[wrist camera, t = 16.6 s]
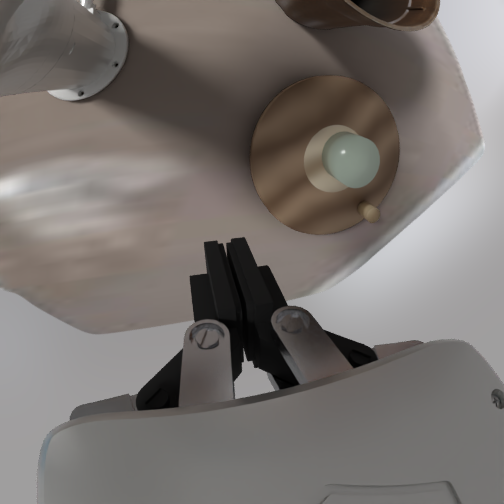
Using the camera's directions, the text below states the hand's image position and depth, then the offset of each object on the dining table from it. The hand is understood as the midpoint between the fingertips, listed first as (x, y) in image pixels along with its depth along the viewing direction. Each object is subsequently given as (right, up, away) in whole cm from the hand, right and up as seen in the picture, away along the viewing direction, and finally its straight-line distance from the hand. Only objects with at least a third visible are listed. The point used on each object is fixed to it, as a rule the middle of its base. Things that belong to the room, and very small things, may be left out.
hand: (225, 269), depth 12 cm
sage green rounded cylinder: (+14, +14, +24) cm, 31 cm away
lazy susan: (+12, +14, +26) cm, 32 cm away
